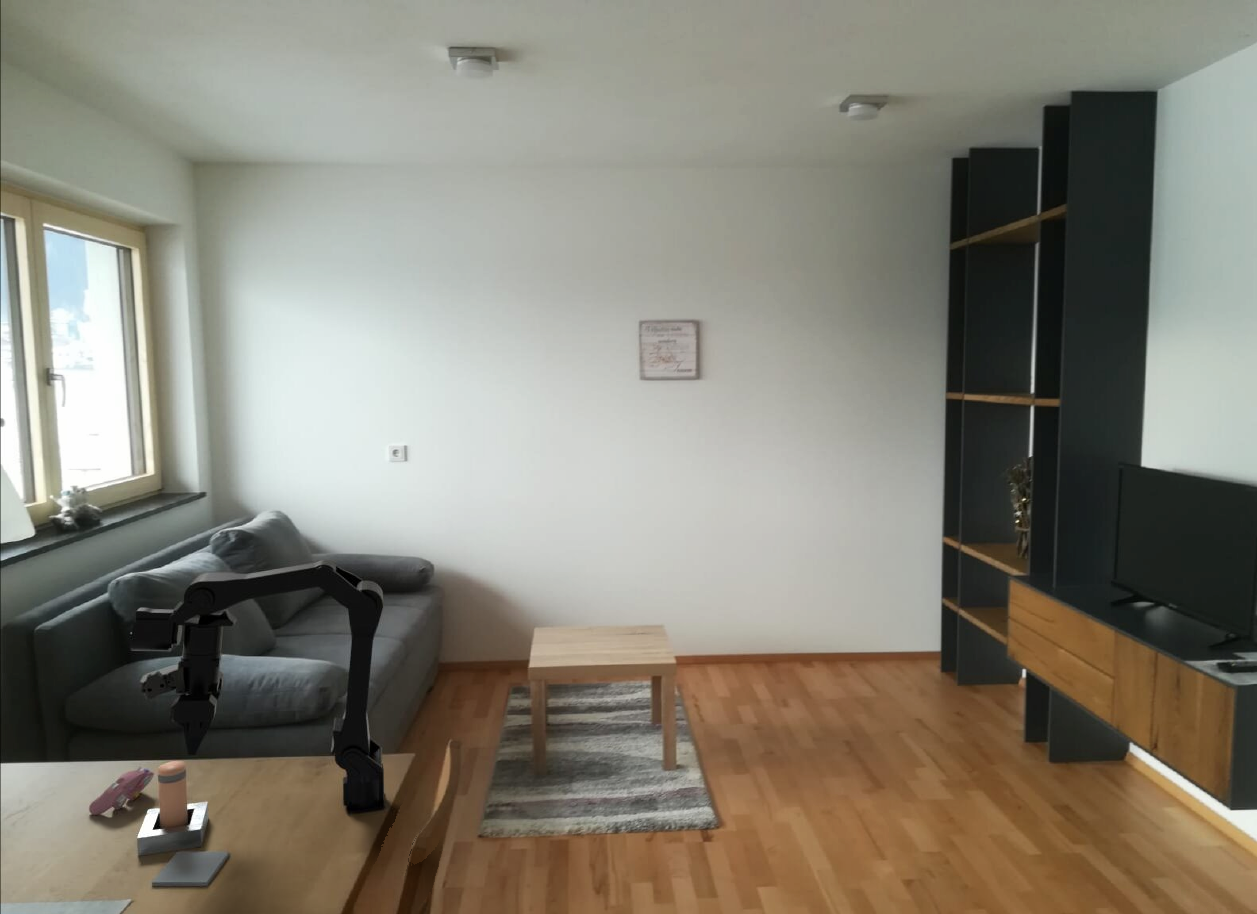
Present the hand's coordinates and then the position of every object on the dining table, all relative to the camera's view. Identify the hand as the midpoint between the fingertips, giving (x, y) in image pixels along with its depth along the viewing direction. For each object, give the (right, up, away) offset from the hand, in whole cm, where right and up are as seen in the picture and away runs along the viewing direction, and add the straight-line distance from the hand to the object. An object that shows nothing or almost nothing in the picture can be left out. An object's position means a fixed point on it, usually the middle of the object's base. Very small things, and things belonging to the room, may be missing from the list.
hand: (194, 744), depth 142 cm
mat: (+5, -16, -10) cm, 19 cm away
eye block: (-3, -15, -1) cm, 15 cm away
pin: (-3, -15, -1) cm, 15 cm away
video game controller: (-17, -13, +9) cm, 23 cm away
